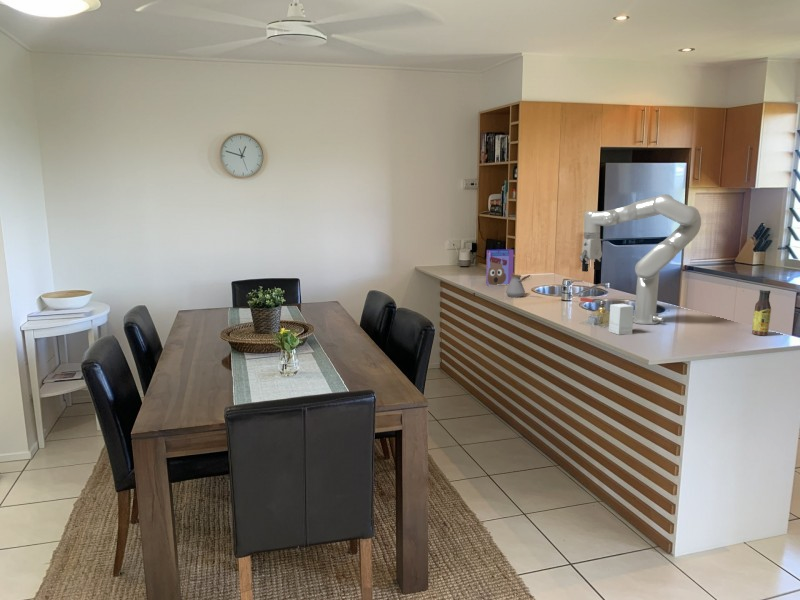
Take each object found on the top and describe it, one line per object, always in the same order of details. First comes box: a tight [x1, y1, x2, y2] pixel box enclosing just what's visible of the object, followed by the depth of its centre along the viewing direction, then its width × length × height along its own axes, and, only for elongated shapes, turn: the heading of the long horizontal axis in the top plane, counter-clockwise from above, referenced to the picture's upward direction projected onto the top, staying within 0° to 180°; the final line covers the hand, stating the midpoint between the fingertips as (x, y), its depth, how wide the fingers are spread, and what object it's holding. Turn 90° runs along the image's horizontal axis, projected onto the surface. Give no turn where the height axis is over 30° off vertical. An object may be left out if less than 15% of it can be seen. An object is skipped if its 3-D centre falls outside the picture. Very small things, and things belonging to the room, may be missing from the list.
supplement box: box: [608, 303, 635, 336], centre depth 268 cm, size 7×7×13 cm
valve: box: [578, 306, 610, 329], centre depth 289 cm, size 12×19×8 cm, turn 130°
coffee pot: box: [505, 274, 533, 298], centre depth 357 cm, size 21×12×15 cm, turn 21°
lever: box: [580, 297, 607, 307], centre depth 292 cm, size 13×3×3 cm, turn 40°
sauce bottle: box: [751, 289, 772, 336], centre depth 263 cm, size 7×6×20 cm
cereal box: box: [485, 248, 515, 286], centre depth 406 cm, size 17×5×24 cm, turn 104°
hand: (590, 270), depth 300 cm, fingers open, 9 cm apart
